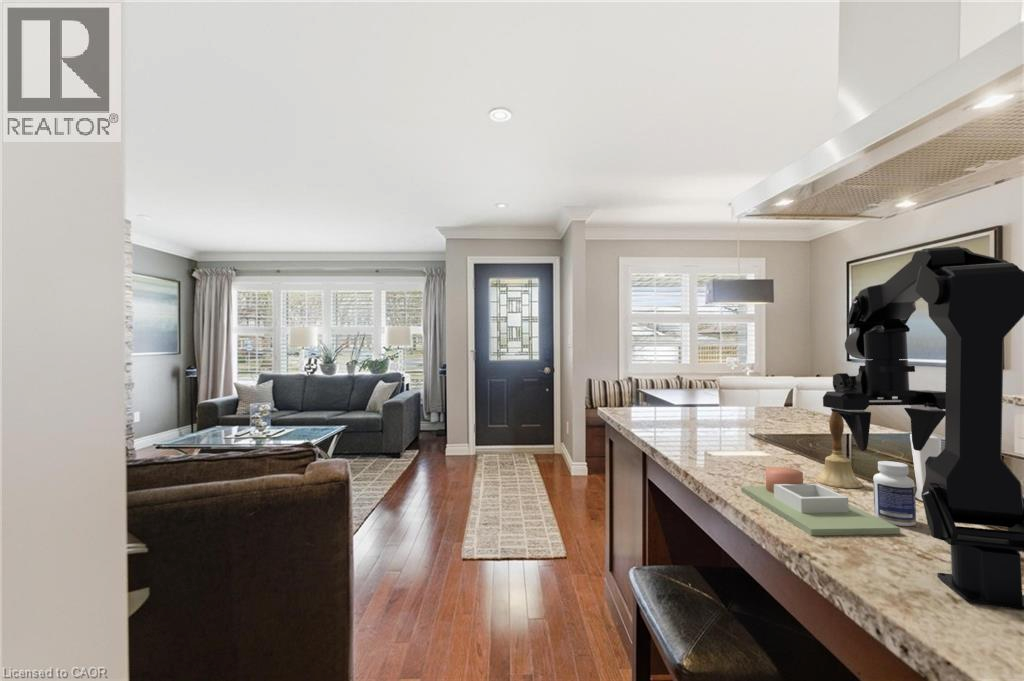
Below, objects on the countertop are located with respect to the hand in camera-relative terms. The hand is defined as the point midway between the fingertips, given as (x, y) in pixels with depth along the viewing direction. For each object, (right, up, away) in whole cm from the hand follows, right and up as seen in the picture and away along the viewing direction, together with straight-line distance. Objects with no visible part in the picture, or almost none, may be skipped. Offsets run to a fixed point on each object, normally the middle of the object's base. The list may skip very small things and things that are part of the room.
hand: (890, 450), depth 76 cm
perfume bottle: (+15, -12, +9) cm, 21 cm away
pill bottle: (0, -12, -1) cm, 12 cm away
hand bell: (+6, -13, +21) cm, 25 cm away
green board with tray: (-10, -12, +5) cm, 17 cm away
